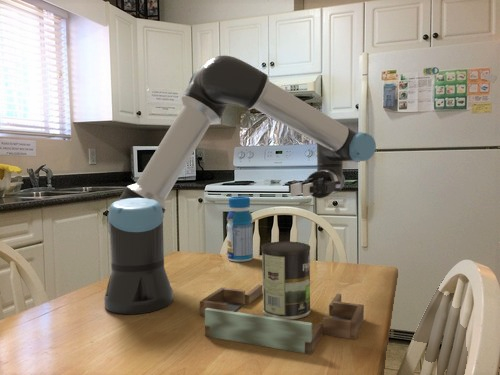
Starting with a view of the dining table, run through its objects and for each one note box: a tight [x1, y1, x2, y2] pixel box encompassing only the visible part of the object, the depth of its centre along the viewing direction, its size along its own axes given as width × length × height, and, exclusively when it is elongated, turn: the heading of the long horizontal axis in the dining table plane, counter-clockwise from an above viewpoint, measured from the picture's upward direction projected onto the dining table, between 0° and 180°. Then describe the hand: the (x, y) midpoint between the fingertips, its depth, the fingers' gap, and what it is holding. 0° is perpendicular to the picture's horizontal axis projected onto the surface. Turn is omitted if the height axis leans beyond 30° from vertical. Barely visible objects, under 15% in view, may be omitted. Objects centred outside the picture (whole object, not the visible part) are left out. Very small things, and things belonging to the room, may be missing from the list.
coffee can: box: [261, 240, 311, 320], centre depth 90 cm, size 10×10×14 cm
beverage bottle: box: [226, 196, 254, 263], centre depth 136 cm, size 8×8×20 cm
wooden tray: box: [199, 284, 365, 355], centre depth 86 cm, size 32×26×5 cm
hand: (298, 190), depth 97 cm, fingers open, 2 cm apart
